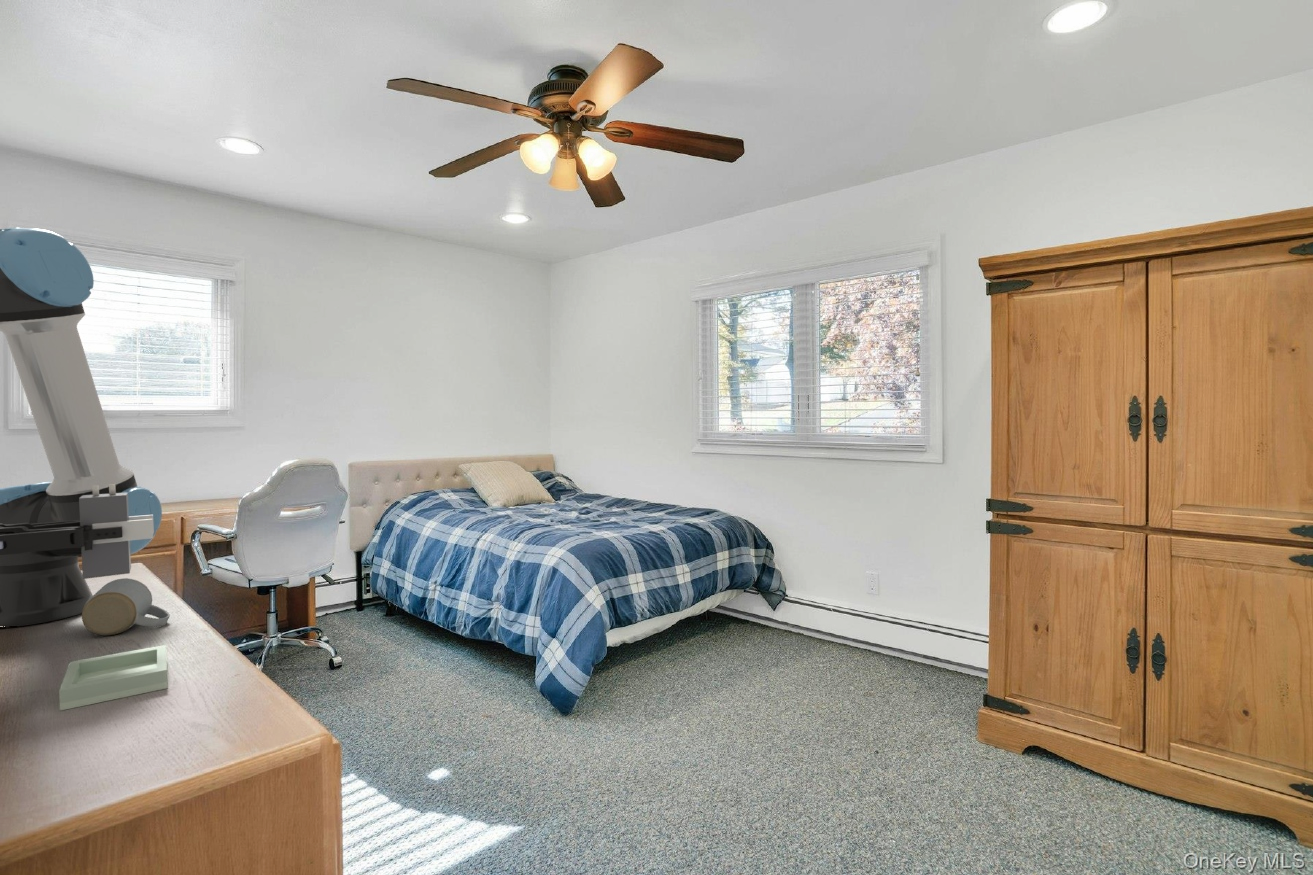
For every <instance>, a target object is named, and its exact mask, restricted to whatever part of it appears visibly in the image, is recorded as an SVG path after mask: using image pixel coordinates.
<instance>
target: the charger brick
mask: <svg viewBox="0 0 1313 875" xmlns="http://www.w3.org/2000/svg"><path fill="white" fill-rule="evenodd" d="M92 491H93V495H83V496H81V497H80V498H79V508H80V526H83V525H88V526H91V529H93V526H92V524H96V523H108V522H120V521H129V508H128V493H116V488H115V485H109V494H99V486H92ZM81 552H82V556H81V568H82V569H81V570H82V571H81V572H82V574H83V579H85V580H87V579H95V578H102V577H111V576H118V575H119V576H120V575H127V574H128V575H129V574H130V573H131V571H132V558H131V557H132V556H131V555H132V554H131V553H130V541H121V542H111V543H100V544H93V540H92V550H86V551H85V546H83V547H81Z"/></svg>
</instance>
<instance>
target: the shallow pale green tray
mask: <svg viewBox="0 0 1313 875" xmlns="http://www.w3.org/2000/svg"><path fill="white" fill-rule="evenodd" d="M167 659H168V658H167V644H164V645H159V646H152V647H148V648H141V649H135V650H129V651H123V652H118V653H117V652H116V653H113V654H106V655H102V656H96V657H90V658H85V659H78V660H73V661H70V662H69V664H68V667H67V669H66V672H65V674H64V677H63V679H62V682H61V685H60V687H59V690H58V692H59V693H58V696H59V699H58V700H59V711H60V712H61V711H64V710H70V709H75V708H79V707H84V706H88V705H93V704H97V703H103V702H108V701H112V700H113V701H114V700H117V699H122V698H127V697H133V696H137V695H142V694H146V693H150V692H151V693H152V692H156V691H160V690H165V689H168V687H169V686H168V660H167Z"/></svg>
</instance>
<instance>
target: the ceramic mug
mask: <svg viewBox="0 0 1313 875" xmlns="http://www.w3.org/2000/svg"><path fill="white" fill-rule="evenodd" d="M92 595H93V596H92V597H91V598H90V599H89V600H88V601H87V603H86V604H85V606H84V608H83V611H82V613H81V620H82V623H83V625H84V627H85V628H86V629H87V630H89V632H91V633H93V634H95V635H100V636H105V637H106V636H113V635H114V636H115V635H117V634H121V633H123V632H126V631H127V630H129V629H130V628H132V627H133V626H134V625H137V626H140V627H147V628H161V627H160V626H162V627H164V626H165V625H167V623H168V621H169V619H170V616H171V614H170V612H168V611H167V610H165V609H164V608H161V607H159V606H158V605H157V606H156V605H153V594H152V592H151V591H150V589H149V587H148V586H147V585H146V584H144V583H143V582H141V581H139V580H136V579H132V578H127V577H126V578H118V579H114V580H111V581H109V582H107V583H106V584H105V585H103V586H101V588H100V589H98V590H97V591H96V592H95V593H94V594H92ZM146 615H149V616H153V617H149V616H146Z"/></svg>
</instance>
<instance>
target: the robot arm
mask: <svg viewBox="0 0 1313 875" xmlns="http://www.w3.org/2000/svg"><path fill="white" fill-rule="evenodd" d="M93 288H94V274H93V270H92V267H91V265H90V263H89V261H88V260H87V258H86V257H85V255H84V254H83V252H82V251H81V250H80V249H79V248H78V247H77V246H76V245H75V244H74V243H72V242H71V241H68V240H67V239H66V238H65V237H64V236H62V235H61V234H58V233H55V232H53V231H50V230H47V229H41V228H25V227H22V228H21V227H17V226H16V227H11V228H1V229H0V332H2V333H3V334H4V335H5V337H6V338H5V339H6V341H7V344H8V347H9V350H10V352H11V355H12V358H13V362H14V365H15V367H16V370H17V373H18V376H19V379H20V382H21V384H22V387H23V391H24V393H25V394H24V395H25V396H26V399H27V402H28V404H29V408H30V411H31V415H32V416H33V419H34V424H35V426H36V429H37V431H38V434H39V437H40V440H41V443H42V446H43V449H44V452H45V454H46V458H47V460H48V464H49V467H50V469H51V472H52V475H53V477H54V478H53V480H52V481H46V482H38V483H29V484H23V485H13V486H8V487H3V488H1V487H0V626H3V627H4V626H5V627H6V628H10V627H9V626H17V627H24V626H30V625H37V624H42V623H47V622H54V621H58V620H62V619H67V618H70V617H73V616H77V615H82V611H83V608H84V606H85V604H86V603H87V601H88V600H89V599H90V598H91V597H92V596H93V595H94V594H93V593H92V591H91V588H90V587H89V586H90V585H88V582H87V581H86V580H87V579H83V574H82V571H81V570H82V569H81V568H80V566H79V565H80V564H79V557H82V552H81V547H83V546H85V551H86V550H92V540H93V544H100V543H111V542H121V541H130V553H131V555H133V554H135V553H138V552H139V551H141V550H143V549H144V548H146V547H147V546H148V545H149V544H150V543H151V541H152V540H153V539H154V538H155V536H156V534H157V530H159V529H160V526H161V522H162V515H163V514H162V513H163V510H162V504H161V500H160V499H159V497H158V496H157V495H156V494H155V493H154V492H153V491H151V490H150V489H148V488H146V487H141V486H138V484H137V483H138V482H137V480H136V477H135V473H134V472H133V470H131V469H130V468H128V467H126V466H123V465H121V464H120V462H119V460H118V456H117V452H116V449H115V447H114V442H113V440H112V436H111V433H110V431H109V427H108V423H107V421H106V417H105V414H104V411H103V408H102V407H103V406H102V404H101V401H100V398H99V394H98V391H97V388H96V385H95V383H94V382H95V381H94V379H93V374H92V371H91V369H90V366H89V365H90V364H89V362H88V359H87V356H86V353H85V352H86V351H85V350H84V346H83V343H82V340H81V336H80V333H79V330H78V324H79V322H81V320H82V319H83V318H84V317H85V315H86V313H85V309H84V306H83V303H84V302H85V301H86V300H88V299H89V297H90V296H91V294H92V292H91V290H92V289H93ZM109 485H115V488H116V493H128V508H129V521H120V522H108V523H96V524H92V526H93V529H91V526H88V525H83V526H80V508H79V498H80V497H81V496H83V495H93V491H92V486H99V494H109Z"/></svg>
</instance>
